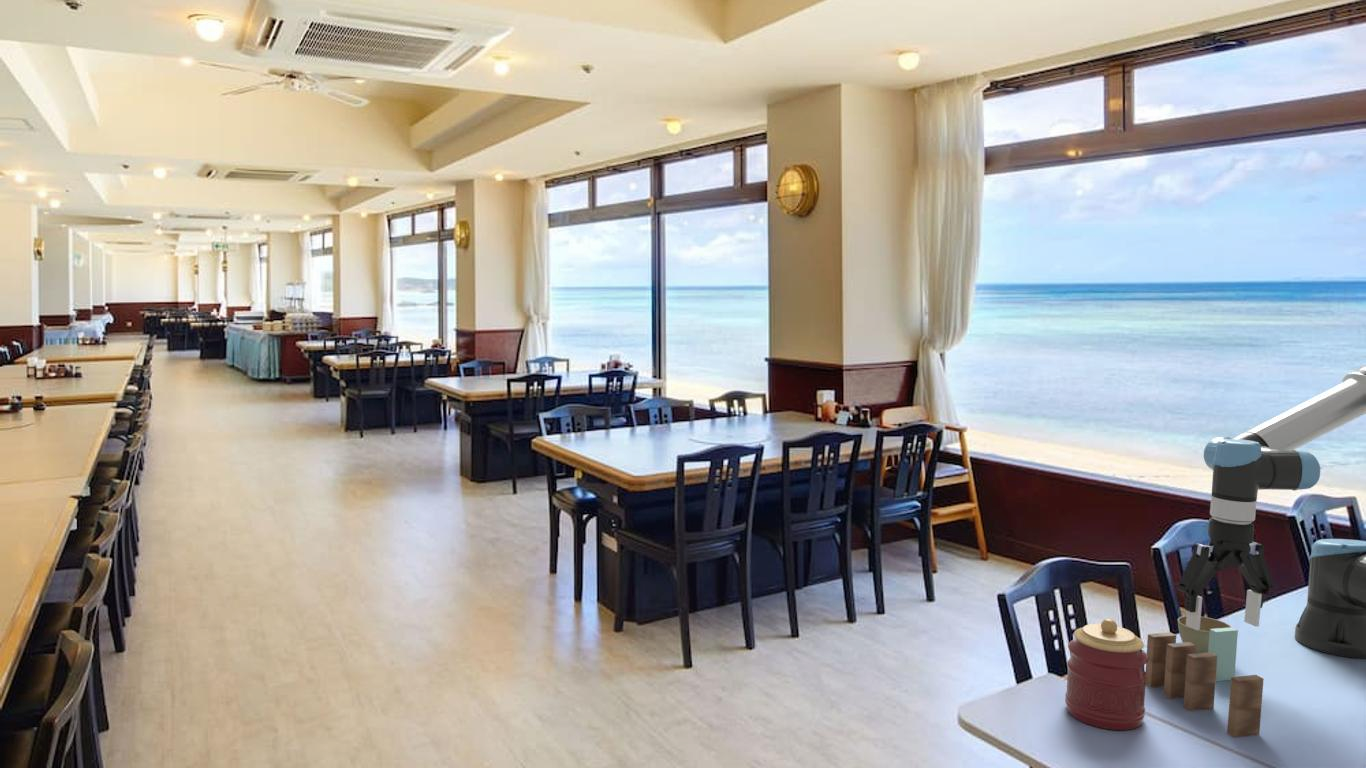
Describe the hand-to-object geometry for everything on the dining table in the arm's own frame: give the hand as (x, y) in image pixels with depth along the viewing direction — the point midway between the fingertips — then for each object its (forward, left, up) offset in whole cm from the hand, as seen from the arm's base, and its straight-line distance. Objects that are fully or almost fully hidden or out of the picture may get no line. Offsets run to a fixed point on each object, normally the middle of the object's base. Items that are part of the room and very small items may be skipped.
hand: (1222, 626), depth 177 cm
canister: (+33, +9, -11) cm, 36 cm away
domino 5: (+14, +20, -11) cm, 26 cm away
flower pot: (-5, -10, -11) cm, 16 cm away
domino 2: (+14, +5, -11) cm, 18 cm away
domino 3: (+14, +10, -11) cm, 20 cm away
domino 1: (+14, 0, -11) cm, 17 cm away
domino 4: (0, 0, -11) cm, 11 cm away
